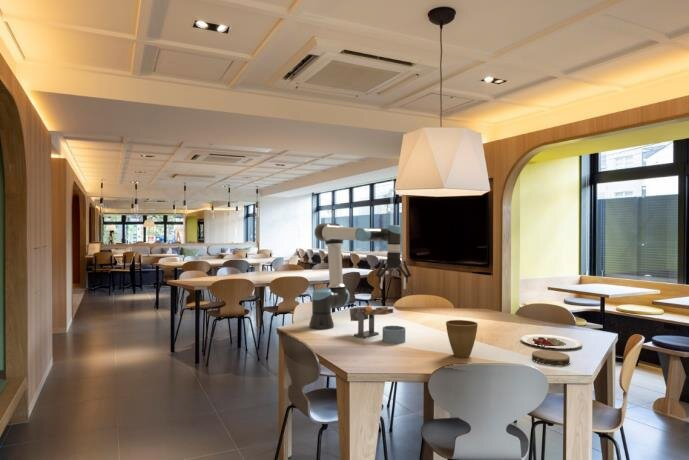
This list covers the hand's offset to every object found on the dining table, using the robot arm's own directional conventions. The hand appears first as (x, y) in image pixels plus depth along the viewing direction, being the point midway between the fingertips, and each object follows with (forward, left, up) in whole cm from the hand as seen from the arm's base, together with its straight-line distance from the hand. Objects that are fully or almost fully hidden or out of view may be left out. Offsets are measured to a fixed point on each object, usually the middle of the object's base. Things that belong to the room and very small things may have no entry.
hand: (392, 288), depth 261 cm
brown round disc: (+84, +6, -27) cm, 89 cm away
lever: (-7, -8, -17) cm, 20 cm away
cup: (+8, -11, -27) cm, 30 cm away
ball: (-9, -11, -11) cm, 18 cm away
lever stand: (-11, -11, -27) cm, 31 cm away
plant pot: (+49, -14, -27) cm, 58 cm away
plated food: (+75, +40, -27) cm, 89 cm away
